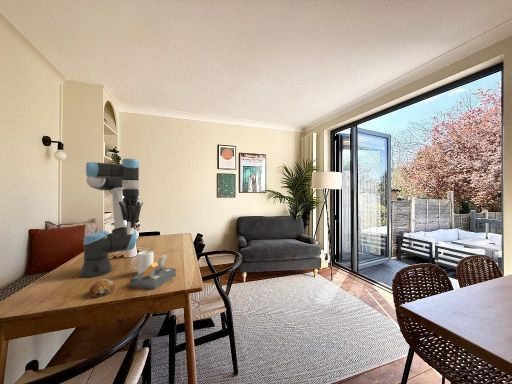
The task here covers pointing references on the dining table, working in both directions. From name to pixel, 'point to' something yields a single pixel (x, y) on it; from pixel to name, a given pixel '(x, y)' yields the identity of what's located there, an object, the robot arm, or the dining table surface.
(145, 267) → the mug
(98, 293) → the bread roll
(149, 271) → the orange and white block
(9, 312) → the dining table surface
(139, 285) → the panel
